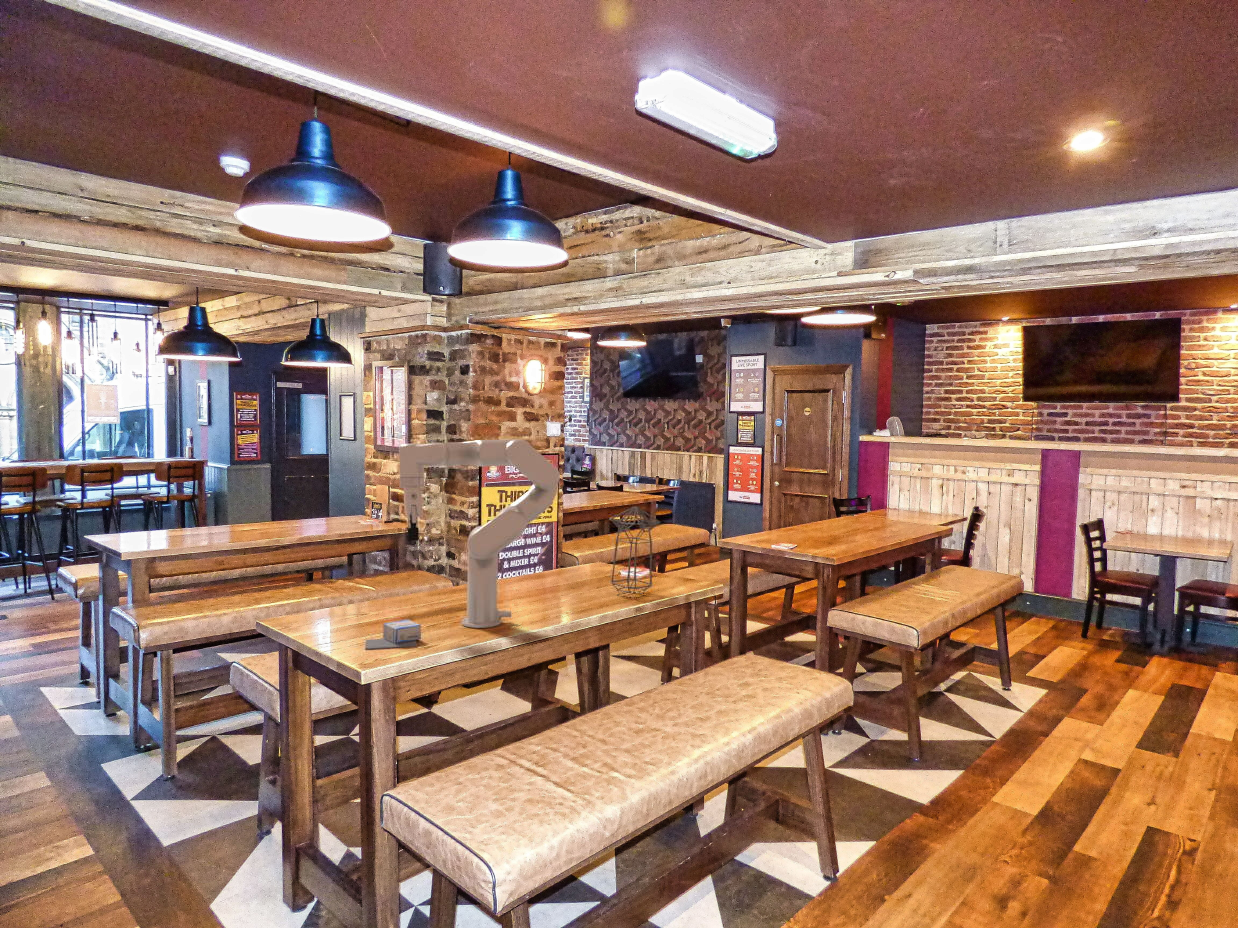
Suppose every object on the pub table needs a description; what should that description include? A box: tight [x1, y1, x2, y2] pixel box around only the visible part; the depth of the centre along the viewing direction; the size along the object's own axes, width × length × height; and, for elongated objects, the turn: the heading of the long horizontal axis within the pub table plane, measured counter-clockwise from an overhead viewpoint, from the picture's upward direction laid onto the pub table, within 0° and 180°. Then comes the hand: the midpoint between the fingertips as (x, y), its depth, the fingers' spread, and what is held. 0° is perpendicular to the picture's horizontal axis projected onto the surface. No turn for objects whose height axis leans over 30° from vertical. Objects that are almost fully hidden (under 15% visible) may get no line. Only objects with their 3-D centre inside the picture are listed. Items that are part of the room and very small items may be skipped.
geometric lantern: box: [608, 506, 661, 594], centre depth 281 cm, size 16×16×35 cm
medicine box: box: [382, 619, 422, 644], centre depth 213 cm, size 8×4×9 cm
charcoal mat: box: [364, 638, 418, 651], centre depth 209 cm, size 14×9×1 cm, turn 108°
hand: (413, 540), depth 229 cm, fingers closed
